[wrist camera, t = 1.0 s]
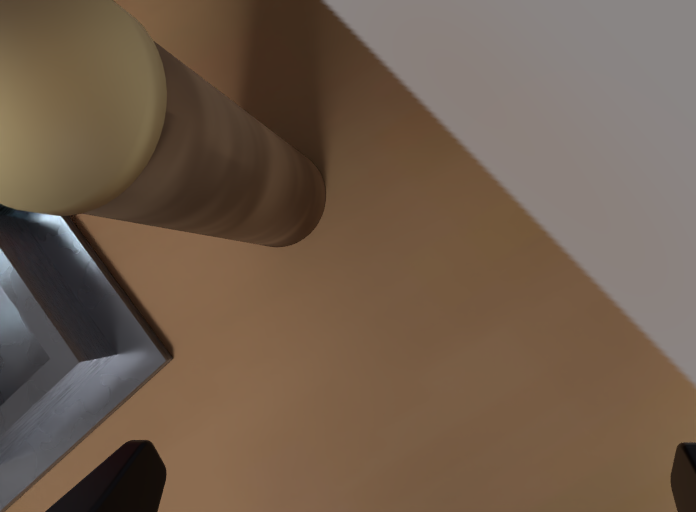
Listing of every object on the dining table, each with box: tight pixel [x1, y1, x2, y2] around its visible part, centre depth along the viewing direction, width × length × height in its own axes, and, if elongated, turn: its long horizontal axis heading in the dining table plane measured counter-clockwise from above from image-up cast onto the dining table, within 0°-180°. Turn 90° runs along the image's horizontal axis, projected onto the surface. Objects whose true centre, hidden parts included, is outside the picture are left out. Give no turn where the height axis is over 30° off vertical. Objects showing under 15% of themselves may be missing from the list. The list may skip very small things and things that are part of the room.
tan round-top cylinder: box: [0, 0, 326, 247], centre depth 17 cm, size 5×5×14 cm
